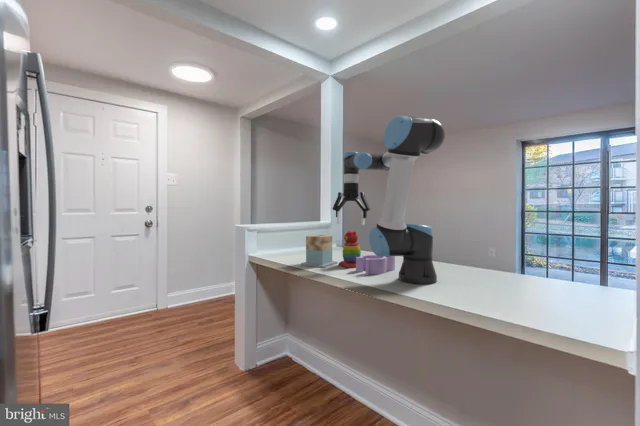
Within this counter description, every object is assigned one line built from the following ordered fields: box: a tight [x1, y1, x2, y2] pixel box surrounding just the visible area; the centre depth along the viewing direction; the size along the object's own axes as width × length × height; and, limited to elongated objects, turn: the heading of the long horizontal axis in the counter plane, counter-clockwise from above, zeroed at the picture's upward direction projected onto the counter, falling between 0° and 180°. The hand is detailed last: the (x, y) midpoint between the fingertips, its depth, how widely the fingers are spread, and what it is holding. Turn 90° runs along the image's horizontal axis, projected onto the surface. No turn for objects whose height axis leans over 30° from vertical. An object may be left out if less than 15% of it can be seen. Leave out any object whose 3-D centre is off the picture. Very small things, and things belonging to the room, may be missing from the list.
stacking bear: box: [338, 230, 362, 269], centre depth 162 cm, size 11×10×18 cm
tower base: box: [300, 248, 338, 269], centre depth 166 cm, size 14×14×8 cm
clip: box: [355, 254, 396, 276], centre depth 150 cm, size 20×12×7 cm, turn 125°
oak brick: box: [305, 234, 333, 251], centre depth 166 cm, size 10×10×7 cm
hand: (350, 224), depth 162 cm, fingers open, 13 cm apart
